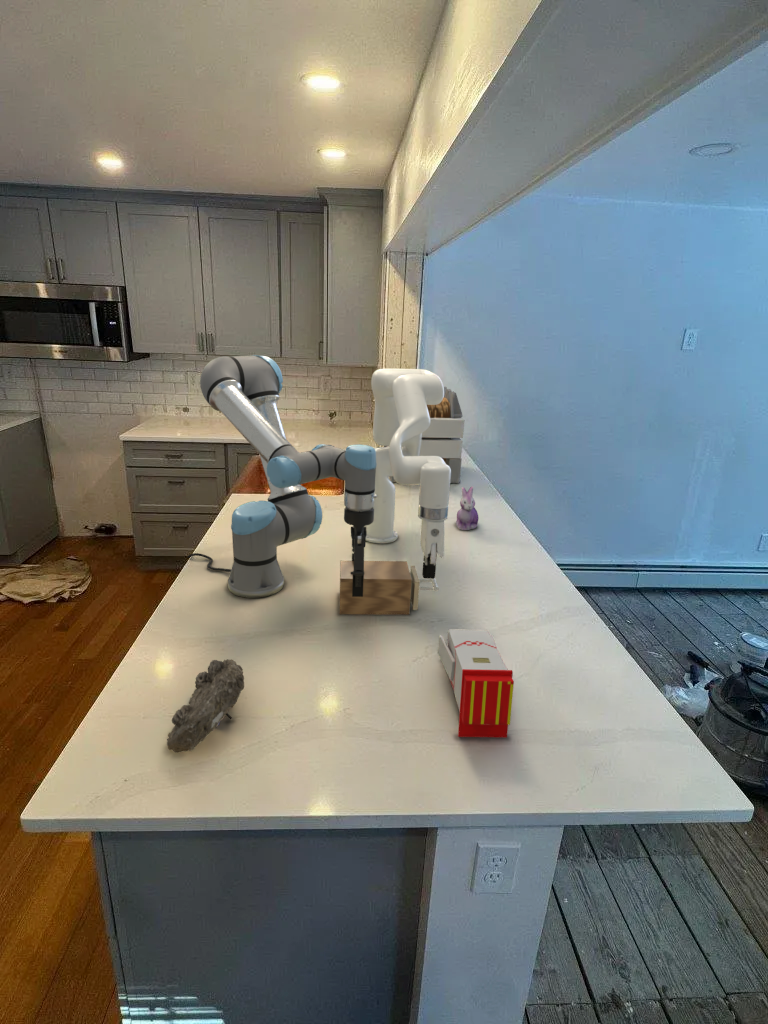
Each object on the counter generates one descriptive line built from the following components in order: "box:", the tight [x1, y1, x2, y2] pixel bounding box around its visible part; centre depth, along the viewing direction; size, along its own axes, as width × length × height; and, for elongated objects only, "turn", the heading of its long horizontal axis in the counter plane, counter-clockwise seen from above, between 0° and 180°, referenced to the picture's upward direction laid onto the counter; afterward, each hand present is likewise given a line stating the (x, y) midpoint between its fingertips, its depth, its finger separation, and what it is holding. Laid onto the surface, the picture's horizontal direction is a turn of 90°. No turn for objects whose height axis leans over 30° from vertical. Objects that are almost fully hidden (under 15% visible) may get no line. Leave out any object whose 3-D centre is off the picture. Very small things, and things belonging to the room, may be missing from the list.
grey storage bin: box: [383, 386, 465, 484], centre depth 268 cm, size 34×33×41 cm
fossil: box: [166, 658, 245, 754], centre depth 106 cm, size 22×10×15 cm
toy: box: [437, 628, 515, 738], centre depth 117 cm, size 12×13×30 cm
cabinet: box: [339, 560, 412, 616], centre depth 150 cm, size 18×11×10 cm, turn 94°
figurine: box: [455, 486, 480, 531], centre depth 207 cm, size 9×10×15 cm
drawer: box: [409, 565, 440, 611], centre depth 151 cm, size 22×10×8 cm, turn 94°
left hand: (356, 585), depth 150 cm, fingers closed on cabinet, 11 cm apart
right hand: (428, 577), depth 150 cm, fingers closed
